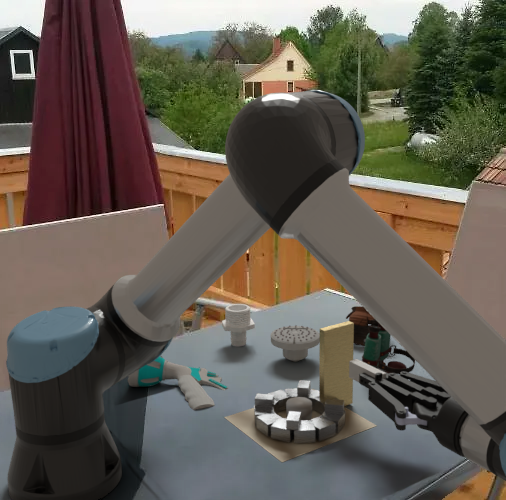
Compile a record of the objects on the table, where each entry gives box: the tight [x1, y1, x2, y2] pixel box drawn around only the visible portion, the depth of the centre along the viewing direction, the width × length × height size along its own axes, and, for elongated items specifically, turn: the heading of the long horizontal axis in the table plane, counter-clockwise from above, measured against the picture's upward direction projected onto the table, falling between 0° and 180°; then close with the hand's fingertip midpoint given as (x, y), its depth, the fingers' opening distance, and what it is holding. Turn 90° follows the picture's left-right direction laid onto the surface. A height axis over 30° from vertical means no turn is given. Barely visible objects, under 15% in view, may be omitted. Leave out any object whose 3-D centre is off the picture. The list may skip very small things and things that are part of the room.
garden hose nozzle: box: [127, 355, 229, 411], centre depth 118 cm, size 7×18×20 cm
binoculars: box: [361, 322, 416, 375], centre depth 121 cm, size 9×11×10 cm
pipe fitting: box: [221, 303, 255, 348], centre depth 139 cm, size 6×7×8 cm
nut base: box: [223, 388, 378, 463], centre depth 104 cm, size 18×16×4 cm
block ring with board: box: [253, 320, 354, 443], centre depth 104 cm, size 18×14×14 cm
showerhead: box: [270, 324, 320, 363], centre depth 127 cm, size 9×7×10 cm
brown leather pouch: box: [345, 305, 378, 347], centre depth 140 cm, size 12×10×8 cm
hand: (352, 368), depth 103 cm, fingers closed
